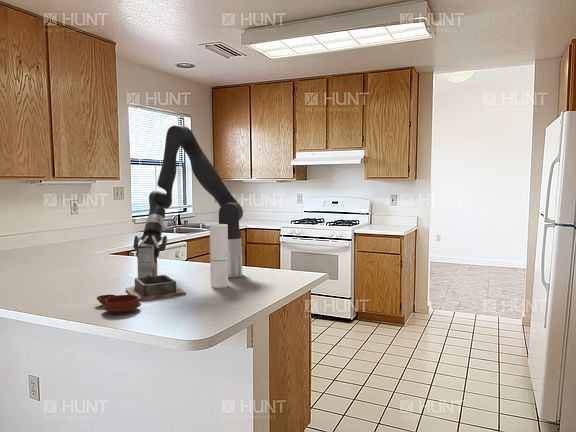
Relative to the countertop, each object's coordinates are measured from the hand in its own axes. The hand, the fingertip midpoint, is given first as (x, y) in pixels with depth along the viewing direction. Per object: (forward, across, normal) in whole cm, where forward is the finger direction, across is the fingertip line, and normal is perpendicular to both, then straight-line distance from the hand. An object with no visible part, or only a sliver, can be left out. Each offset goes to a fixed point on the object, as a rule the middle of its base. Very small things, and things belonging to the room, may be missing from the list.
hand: (146, 257), depth 181 cm
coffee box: (+7, 0, +8) cm, 11 cm away
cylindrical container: (+12, +31, +3) cm, 34 cm away
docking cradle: (+20, +8, -5) cm, 22 cm away
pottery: (+35, +1, -19) cm, 40 cm away
